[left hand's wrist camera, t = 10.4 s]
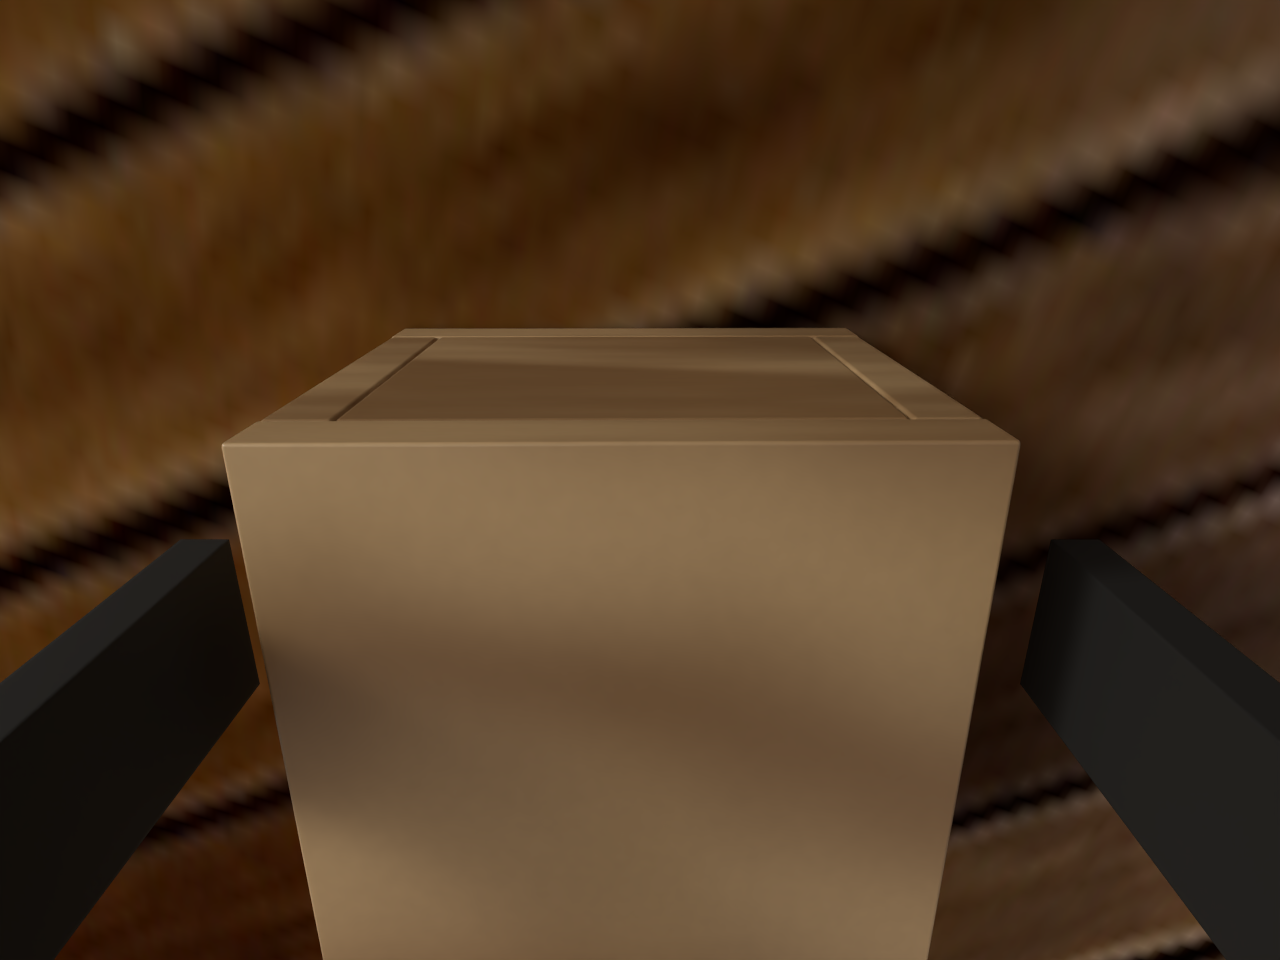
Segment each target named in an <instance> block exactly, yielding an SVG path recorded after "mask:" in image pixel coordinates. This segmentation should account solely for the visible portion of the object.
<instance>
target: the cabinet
mask: <svg viewBox="0 0 1280 960" xmlns="http://www.w3.org/2000/svg"><path fill="white" fill-rule="evenodd" d="M1020 445H1021V444H1020V441H1019V440H1018V439H1016V438H1015V437H1013V436H1012V435H1010V434H1009V433H1007V432H1005V431H1004V430H1002V429H1001V428H999V427H998V426H996V425H995V424H993V423H992V422H990V421H988V420H986V419H983V418H982V417H980V416H979V415H977V414H976V413H974V412H973V411H971V410H969V409H968V408H966V407H965V406H963V405H962V404H960V403H959V402H957V401H956V400H954V399H953V398H951V397H950V396H948V395H946V394H945V393H943V392H942V391H940V390H939V389H937V388H936V387H934V386H933V385H931V384H930V383H928V382H927V381H925V380H923V379H922V378H920V377H919V376H917V375H916V374H914V373H913V372H911V371H910V370H908V369H907V368H905V367H904V366H902V365H900V364H899V363H897V362H896V361H894V360H893V359H891V358H890V357H888V356H887V355H885V354H884V353H882V352H881V351H879V350H877V349H876V348H874V347H873V346H871V345H870V344H868V343H867V342H865V341H864V340H862V339H861V338H859V337H858V336H857V335H856V334H854V333H853V332H851V331H850V330H848V329H846V328H550V329H404V330H403V331H401V332H399V333H398V334H396V335H395V336H393V337H392V338H391V339H390V340H388V341H387V342H385V343H383V344H382V345H380V346H379V347H377V348H375V349H374V350H372V351H371V352H369V353H368V354H366V355H364V356H363V357H361V358H360V359H358V360H356V361H355V362H353V363H352V364H350V365H349V366H347V367H345V368H344V369H342V370H341V371H339V372H337V373H336V374H334V375H333V376H331V377H330V378H328V379H326V380H325V381H323V382H322V383H320V384H318V385H317V386H315V387H314V388H312V389H311V390H309V391H307V392H306V393H304V394H303V395H301V396H299V397H298V398H296V399H295V400H293V401H292V402H290V403H288V404H287V405H285V406H284V407H282V408H280V409H279V410H277V411H276V412H274V413H273V414H271V415H269V416H268V417H266V418H265V419H263V420H262V421H258V422H256V423H254V424H253V425H251V426H250V427H248V428H246V429H245V430H243V431H242V432H240V433H239V434H237V435H235V436H234V437H232V438H231V439H229V440H227V441H226V442H224V443H223V444H222V451H223V456H224V461H225V467H226V472H227V477H228V482H229V487H230V492H231V497H232V502H233V507H234V512H235V517H236V522H237V527H238V532H239V537H240V542H241V547H242V552H243V557H244V562H245V567H246V572H247V577H248V582H249V587H250V593H251V598H252V603H253V608H254V613H255V618H256V623H257V628H258V633H259V638H260V643H261V648H262V653H263V658H264V663H265V668H266V673H267V678H268V683H269V688H270V693H271V698H272V703H273V708H274V713H275V719H276V724H277V729H278V734H279V739H280V744H281V749H282V754H283V759H284V764H285V769H286V774H287V779H288V784H289V789H290V794H291V799H292V804H293V809H294V814H295V819H296V824H297V829H298V834H299V840H300V845H301V850H302V855H303V860H304V865H305V870H306V875H307V880H308V885H309V890H310V895H311V900H312V905H313V910H314V915H315V920H316V925H317V930H318V935H319V940H320V945H321V950H322V955H323V960H927V959H928V953H929V948H930V942H931V937H932V931H933V926H934V920H935V915H936V909H937V904H938V898H939V893H940V887H941V882H942V876H943V871H944V865H945V859H946V854H947V848H948V843H949V837H950V832H951V826H952V821H953V815H954V810H955V804H956V799H957V793H958V788H959V782H960V777H961V771H962V766H963V760H964V754H965V749H966V743H967V738H968V732H969V727H970V721H971V716H972V710H973V705H974V699H975V694H976V688H977V683H978V677H979V672H980V666H981V660H982V655H983V649H984V644H985V638H986V633H987V627H988V622H989V616H990V611H991V605H992V600H993V594H994V589H995V583H996V578H997V572H998V567H999V561H1000V555H1001V550H1002V544H1003V539H1004V533H1005V528H1006V522H1007V517H1008V511H1009V506H1010V500H1011V495H1012V489H1013V484H1014V478H1015V473H1016V467H1017V462H1018V456H1019V450H1020Z"/></svg>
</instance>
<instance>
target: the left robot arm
mask: <svg viewBox="0 0 1280 960" xmlns="http://www.w3.org/2000/svg"><path fill="white" fill-rule="evenodd" d="M259 684H260V683H259V678H258V673H257V669H256V664H255V659H254V655H253V650H252V645H251V641H250V636H249V631H248V627H247V622H246V617H245V613H244V608H243V603H242V599H241V594H240V589H239V585H238V580H237V575H236V571H235V566H234V561H233V557H232V552H231V547H230V543H229V540H180V541H178V542H177V543H176V544H175V545H173V546H172V547H171V548H170V549H168V550H167V551H166V552H165V553H163V554H162V555H161V556H160V557H158V558H157V559H156V560H154V561H153V562H152V563H151V564H149V565H148V566H147V567H146V568H144V569H143V570H142V571H141V572H139V573H138V574H137V575H136V576H134V577H133V578H132V579H131V580H129V581H128V582H127V583H126V584H124V585H123V586H122V587H121V588H119V589H118V590H117V591H115V592H114V593H113V594H112V595H110V596H109V597H108V598H107V599H105V600H104V601H103V602H102V603H100V604H99V605H98V606H97V607H95V608H94V609H93V610H92V611H90V612H89V613H88V614H87V615H85V616H84V617H83V618H82V619H80V620H79V621H78V622H76V623H75V624H74V625H73V626H71V627H70V628H69V629H68V630H66V631H65V632H64V633H63V634H61V635H60V636H59V637H58V638H56V639H55V640H54V641H53V642H51V643H50V644H49V645H48V646H46V647H45V648H44V649H43V650H41V651H40V652H39V653H37V654H36V655H35V656H34V657H32V658H31V659H30V660H29V661H27V662H26V663H25V664H24V665H22V666H21V667H20V668H19V669H17V670H16V671H15V672H14V673H12V674H11V675H10V676H9V677H7V678H6V679H5V680H4V681H2V682H1V683H0V960H54V959H55V957H56V956H57V955H58V953H59V952H60V951H61V949H62V948H63V947H64V945H65V944H66V943H67V941H68V940H69V939H70V937H71V936H72V934H73V933H74V932H75V930H76V929H77V928H78V926H79V925H80V924H81V922H82V921H83V920H84V918H85V917H86V916H87V914H88V913H89V912H90V910H91V909H92V908H93V906H94V905H95V904H96V902H97V901H98V900H99V898H100V897H101V896H102V894H103V893H104V892H105V890H106V889H107V888H108V886H109V885H110V884H111V882H112V881H113V880H114V878H115V877H116V876H117V874H118V873H119V872H120V870H121V869H122V868H123V866H124V865H125V864H126V862H127V861H128V859H129V858H130V857H131V855H132V854H133V853H134V851H135V850H136V849H137V847H138V846H139V845H140V843H141V842H142V841H143V839H144V838H145V837H146V835H147V834H148V833H149V831H150V830H151V829H152V827H153V826H154V825H155V823H156V822H157V821H158V819H159V818H160V817H161V815H162V814H163V813H164V811H165V810H166V809H167V807H168V806H169V805H170V803H171V802H172V801H173V799H174V798H175V797H176V795H177V794H178V793H179V791H180V790H181V789H182V787H183V786H184V785H185V783H186V782H187V780H188V779H189V778H190V776H191V775H192V774H193V772H194V771H195V770H196V768H197V767H198V766H199V764H200V763H201V762H202V760H203V759H204V758H205V756H206V755H207V754H208V752H209V751H210V750H211V748H212V747H213V746H214V744H215V743H216V742H217V740H218V739H219V738H220V736H221V735H222V734H223V732H224V731H225V730H226V728H227V727H228V726H229V724H230V723H231V722H232V720H233V719H234V718H235V716H236V715H237V714H238V712H239V711H240V710H241V708H242V707H243V705H244V704H245V703H246V701H247V700H248V699H249V697H250V696H251V695H252V693H253V692H254V691H255V689H256V688H257V687H258V685H259ZM1020 684H1021V685H1022V687H1023V688H1024V689H1025V691H1026V692H1027V693H1028V695H1029V696H1030V697H1031V699H1032V700H1033V701H1034V703H1035V704H1036V705H1037V707H1038V708H1039V710H1040V711H1041V712H1042V714H1043V715H1044V716H1045V718H1046V719H1047V720H1048V722H1049V723H1050V724H1051V726H1052V727H1053V728H1054V730H1055V731H1056V732H1057V734H1058V735H1059V736H1060V738H1061V739H1062V740H1063V742H1064V743H1065V744H1066V746H1067V747H1068V748H1069V750H1070V751H1071V752H1072V754H1073V755H1074V756H1075V758H1076V759H1077V760H1078V762H1079V763H1080V764H1081V766H1082V767H1083V768H1084V770H1085V771H1086V772H1087V774H1088V775H1089V776H1090V778H1091V779H1092V780H1093V782H1094V783H1095V785H1096V786H1097V787H1098V789H1099V790H1100V791H1101V793H1102V794H1103V795H1104V797H1105V798H1106V799H1107V801H1108V802H1109V803H1110V805H1111V806H1112V807H1113V809H1114V810H1115V811H1116V813H1117V814H1118V815H1119V817H1120V818H1121V819H1122V821H1123V822H1124V823H1125V825H1126V826H1127V827H1128V829H1129V830H1130V831H1131V833H1132V834H1133V835H1134V837H1135V838H1136V839H1137V841H1138V842H1139V843H1140V845H1141V846H1142V847H1143V849H1144V850H1145V851H1146V853H1147V854H1148V855H1149V857H1150V858H1151V859H1152V861H1153V862H1154V864H1155V865H1156V866H1157V868H1158V869H1159V870H1160V872H1161V873H1162V874H1163V876H1164V877H1165V878H1166V880H1167V881H1168V882H1169V884H1170V885H1171V886H1172V888H1173V889H1174V890H1175V892H1176V893H1177V894H1178V896H1179V897H1180V898H1181V900H1182V901H1183V902H1184V904H1185V905H1186V906H1187V908H1188V909H1189V910H1190V912H1191V913H1192V914H1193V916H1194V917H1195V918H1196V920H1197V921H1198V922H1199V924H1200V925H1201V926H1202V928H1203V929H1204V930H1205V932H1206V933H1207V934H1208V936H1209V937H1210V939H1211V940H1212V941H1213V943H1214V944H1215V945H1216V947H1217V948H1218V949H1219V951H1220V952H1221V953H1222V955H1223V956H1224V957H1225V959H1226V960H1280V683H1279V682H1278V681H1276V680H1275V679H1274V678H1273V677H1271V676H1270V675H1269V674H1268V673H1266V672H1265V671H1264V670H1263V669H1261V668H1260V667H1259V666H1258V665H1256V664H1255V663H1254V662H1253V661H1251V660H1250V659H1249V658H1248V657H1246V656H1245V655H1244V654H1243V653H1241V652H1240V651H1239V650H1237V649H1236V648H1235V647H1234V646H1232V645H1231V644H1230V643H1229V642H1227V641H1226V640H1225V639H1224V638H1222V637H1221V636H1220V635H1219V634H1217V633H1216V632H1215V631H1214V630H1212V629H1211V628H1210V627H1209V626H1207V625H1206V624H1205V623H1204V622H1202V621H1201V620H1200V619H1198V618H1197V617H1196V616H1195V615H1193V614H1192V613H1191V612H1190V611H1188V610H1187V609H1186V608H1185V607H1183V606H1182V605H1181V604H1180V603H1178V602H1177V601H1176V600H1175V599H1173V598H1172V597H1171V596H1170V595H1168V594H1167V593H1166V592H1165V591H1163V590H1162V589H1161V588H1159V587H1158V586H1157V585H1156V584H1154V583H1153V582H1152V581H1151V580H1149V579H1148V578H1147V577H1146V576H1144V575H1143V574H1142V573H1141V572H1139V571H1138V570H1137V569H1136V568H1134V567H1133V566H1132V565H1131V564H1129V563H1128V562H1127V561H1126V560H1124V559H1123V558H1122V557H1120V556H1119V555H1118V554H1117V553H1115V552H1114V551H1113V550H1112V549H1110V548H1109V547H1108V546H1107V545H1105V544H1104V543H1103V542H1102V541H1100V540H1051V543H1050V547H1049V552H1048V557H1047V561H1046V566H1045V571H1044V575H1043V580H1042V585H1041V589H1040V594H1039V599H1038V603H1037V608H1036V613H1035V617H1034V622H1033V627H1032V631H1031V636H1030V641H1029V645H1028V650H1027V655H1026V659H1025V664H1024V669H1023V673H1022V678H1021V683H1020Z"/></svg>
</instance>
